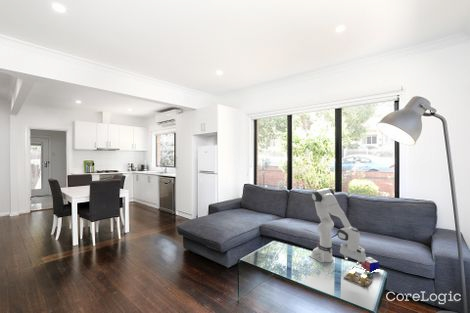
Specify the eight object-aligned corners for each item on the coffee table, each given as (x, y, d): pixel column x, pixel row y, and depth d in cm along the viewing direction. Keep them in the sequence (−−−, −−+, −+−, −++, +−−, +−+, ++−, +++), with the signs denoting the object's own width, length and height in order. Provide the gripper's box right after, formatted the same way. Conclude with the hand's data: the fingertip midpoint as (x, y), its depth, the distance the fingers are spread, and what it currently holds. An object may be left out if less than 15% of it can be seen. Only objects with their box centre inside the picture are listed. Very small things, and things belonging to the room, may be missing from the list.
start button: (366, 275, 196) (366, 272, 196) (367, 273, 198) (367, 271, 198) (370, 276, 194) (370, 273, 194) (371, 275, 196) (371, 272, 196)
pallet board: (343, 278, 194) (343, 276, 194) (349, 273, 202) (349, 271, 202) (366, 288, 181) (366, 286, 181) (372, 282, 189) (372, 280, 189)
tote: (349, 271, 206) (349, 269, 206) (353, 267, 212) (353, 265, 212) (363, 276, 197) (363, 274, 197) (367, 272, 203) (367, 270, 203)
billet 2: (360, 283, 188) (360, 276, 187) (362, 280, 191) (362, 273, 191) (364, 285, 185) (364, 278, 185) (366, 282, 188) (367, 275, 188)
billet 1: (348, 278, 195) (349, 271, 194) (351, 276, 198) (351, 269, 198) (353, 280, 192) (353, 273, 192) (355, 278, 195) (355, 271, 195)
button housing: (364, 277, 196) (364, 273, 196) (366, 275, 199) (366, 271, 199) (370, 279, 192) (371, 276, 192) (373, 277, 196) (373, 274, 196)
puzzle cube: (369, 274, 201) (370, 263, 201) (360, 268, 211) (361, 258, 210) (378, 272, 204) (379, 261, 203) (369, 267, 213) (369, 256, 213)
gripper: (339, 243, 200) (338, 258, 201) (364, 252, 185) (363, 269, 185) (342, 241, 204) (341, 256, 205) (367, 250, 189) (366, 266, 190)
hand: (351, 262), depth 195 cm, fingers open, 8 cm apart
